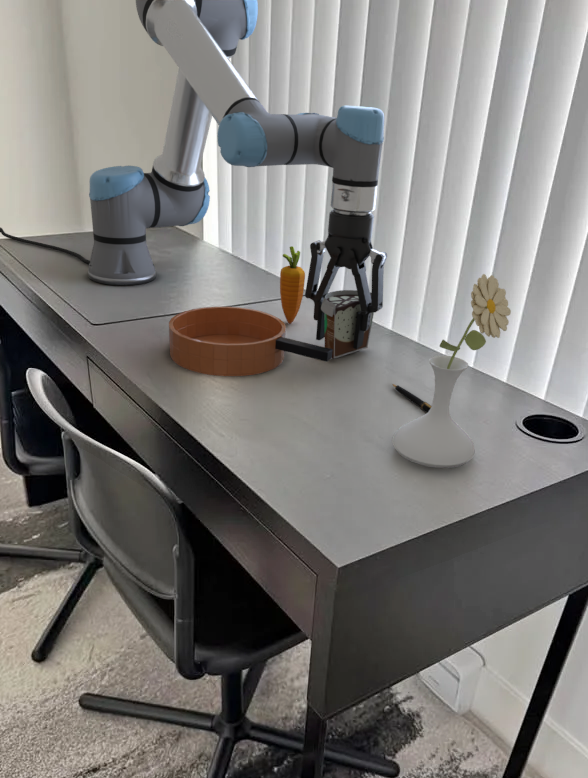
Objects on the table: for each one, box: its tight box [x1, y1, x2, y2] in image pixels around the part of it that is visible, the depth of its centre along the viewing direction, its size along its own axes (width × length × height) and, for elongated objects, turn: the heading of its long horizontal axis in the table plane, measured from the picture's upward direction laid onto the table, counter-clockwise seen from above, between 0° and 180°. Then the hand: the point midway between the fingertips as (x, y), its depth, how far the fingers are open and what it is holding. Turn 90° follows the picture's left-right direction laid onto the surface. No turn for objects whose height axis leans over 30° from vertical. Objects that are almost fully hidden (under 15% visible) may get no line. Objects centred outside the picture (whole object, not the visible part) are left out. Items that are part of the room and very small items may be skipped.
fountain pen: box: [392, 383, 432, 413], centre depth 112 cm, size 14×1×2 cm, turn 27°
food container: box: [321, 289, 375, 360], centre depth 128 cm, size 12×6×10 cm, turn 135°
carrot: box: [279, 246, 306, 324], centre depth 139 cm, size 5×5×15 cm
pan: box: [168, 306, 287, 377], centre depth 125 cm, size 20×20×6 cm
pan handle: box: [275, 337, 333, 362], centre depth 118 cm, size 10×2×2 cm, turn 62°
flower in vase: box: [391, 273, 512, 469], centre depth 92 cm, size 13×11×25 cm
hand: (339, 342), depth 129 cm, fingers closed on food container, 7 cm apart
